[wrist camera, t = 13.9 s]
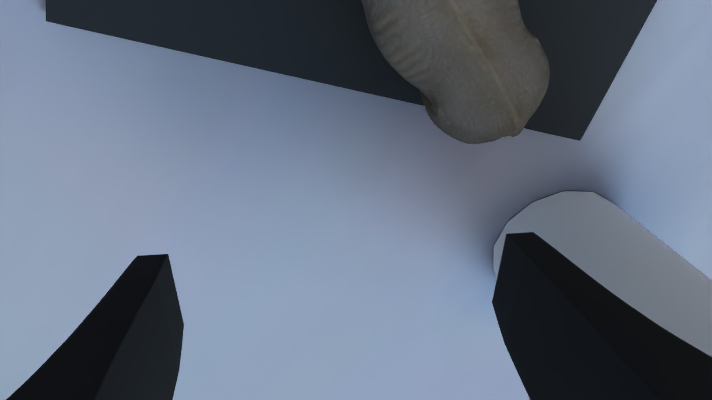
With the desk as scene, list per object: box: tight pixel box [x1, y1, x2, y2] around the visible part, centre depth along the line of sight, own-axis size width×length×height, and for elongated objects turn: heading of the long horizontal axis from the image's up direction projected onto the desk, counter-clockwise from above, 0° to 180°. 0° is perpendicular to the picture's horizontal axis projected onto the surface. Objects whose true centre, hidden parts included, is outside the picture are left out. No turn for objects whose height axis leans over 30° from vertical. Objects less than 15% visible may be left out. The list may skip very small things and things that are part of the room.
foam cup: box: [493, 191, 712, 400], centre depth 21 cm, size 10×9×13 cm
